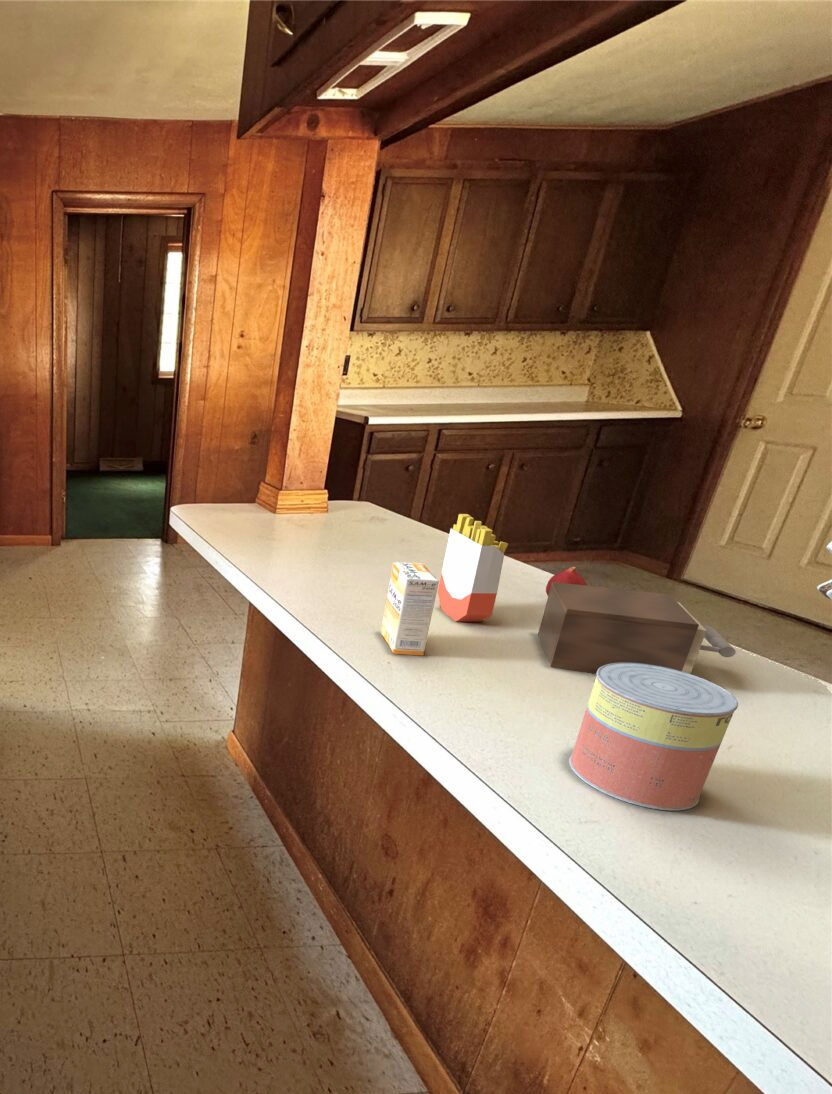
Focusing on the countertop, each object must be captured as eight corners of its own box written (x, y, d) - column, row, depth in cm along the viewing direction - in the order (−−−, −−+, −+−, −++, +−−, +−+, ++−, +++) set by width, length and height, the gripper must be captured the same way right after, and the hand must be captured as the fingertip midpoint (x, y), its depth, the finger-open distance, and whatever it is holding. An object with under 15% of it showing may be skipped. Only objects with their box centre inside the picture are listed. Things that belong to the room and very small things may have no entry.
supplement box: (378, 633, 114) (391, 561, 109) (409, 635, 113) (423, 562, 108) (391, 654, 106) (405, 578, 101) (424, 656, 105) (440, 579, 100)
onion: (534, 605, 123) (545, 564, 120) (553, 599, 125) (564, 559, 122) (569, 615, 118) (581, 573, 115) (588, 609, 120) (600, 568, 117)
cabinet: (650, 650, 104) (669, 594, 101) (676, 686, 94) (699, 624, 91) (537, 635, 111) (551, 581, 107) (550, 666, 101) (567, 608, 97)
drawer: (699, 653, 101) (717, 606, 98) (729, 686, 92) (749, 635, 89) (556, 634, 109) (568, 590, 106) (570, 662, 100) (584, 615, 97)
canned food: (724, 818, 69) (767, 719, 65) (597, 802, 72) (629, 706, 68) (661, 756, 79) (695, 667, 75) (552, 744, 82) (578, 658, 78)
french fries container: (460, 604, 124) (481, 511, 118) (491, 627, 114) (515, 527, 108) (434, 604, 125) (453, 511, 118) (462, 627, 115) (485, 527, 108)
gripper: (899, 494, 89) (772, 555, 97) (1016, 533, 72) (850, 603, 80) (933, 529, 88) (802, 587, 96) (1058, 576, 72) (888, 642, 80)
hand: (825, 595), depth 88 cm, fingers closed
